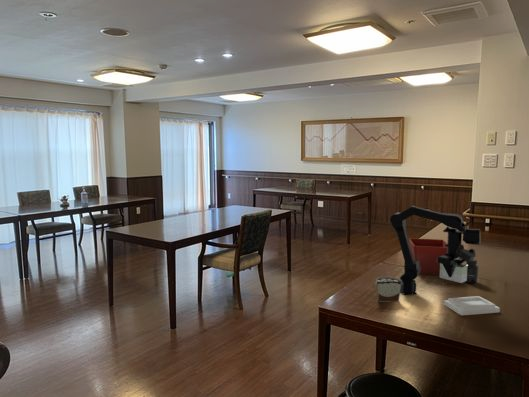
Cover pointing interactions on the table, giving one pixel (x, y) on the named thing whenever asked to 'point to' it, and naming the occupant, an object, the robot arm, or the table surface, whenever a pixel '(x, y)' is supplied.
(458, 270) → the block
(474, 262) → the supplement bottle
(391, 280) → the food container
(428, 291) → the table surface
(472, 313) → the white rectangular tray
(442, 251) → the plant pot
